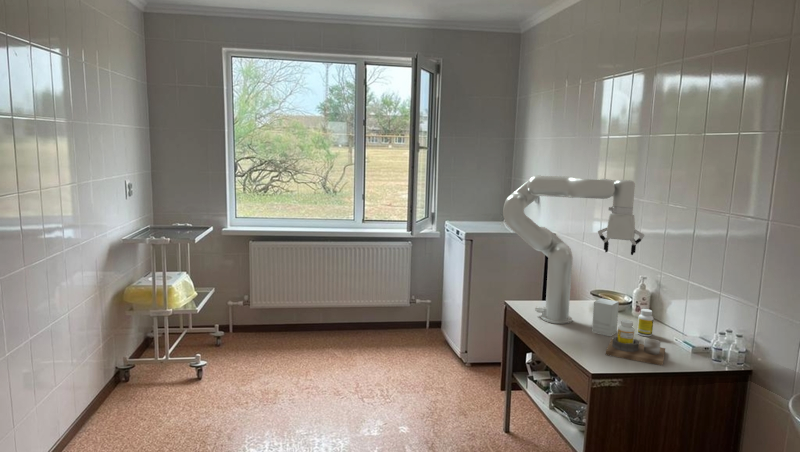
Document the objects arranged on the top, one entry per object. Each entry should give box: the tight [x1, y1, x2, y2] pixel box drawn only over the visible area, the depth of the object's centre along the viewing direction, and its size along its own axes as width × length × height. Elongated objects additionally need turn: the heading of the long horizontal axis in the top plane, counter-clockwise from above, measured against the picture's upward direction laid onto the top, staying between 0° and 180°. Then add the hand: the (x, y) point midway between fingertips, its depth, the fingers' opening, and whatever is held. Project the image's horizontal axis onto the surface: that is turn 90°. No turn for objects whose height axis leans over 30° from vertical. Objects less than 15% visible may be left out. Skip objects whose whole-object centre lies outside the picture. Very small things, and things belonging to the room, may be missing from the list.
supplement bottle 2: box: [636, 308, 655, 337], centre depth 205 cm, size 5×5×10 cm
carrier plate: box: [605, 336, 666, 366], centre depth 185 cm, size 18×14×6 cm
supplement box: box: [591, 298, 620, 337], centre depth 207 cm, size 7×7×13 cm
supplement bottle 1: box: [616, 319, 636, 344], centre depth 187 cm, size 5×5×10 cm
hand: (619, 253), depth 212 cm, fingers open, 9 cm apart
